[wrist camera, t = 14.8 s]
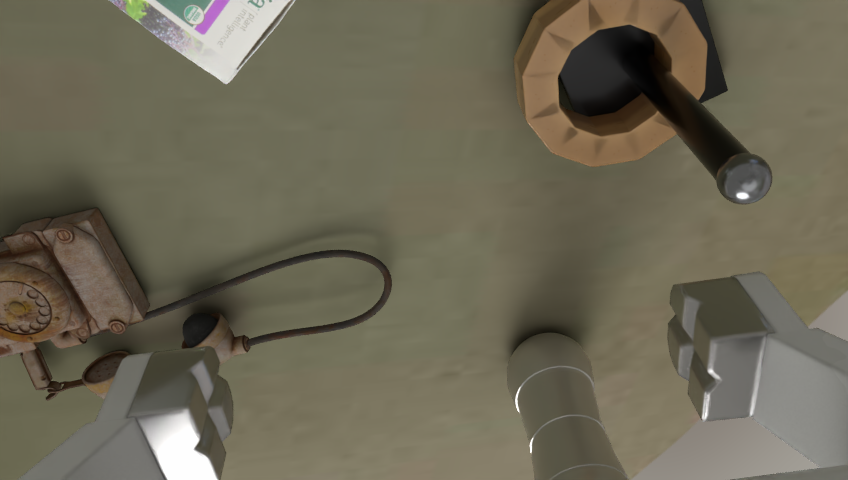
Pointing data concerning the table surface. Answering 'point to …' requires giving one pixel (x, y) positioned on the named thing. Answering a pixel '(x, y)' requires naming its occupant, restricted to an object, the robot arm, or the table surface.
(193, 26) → the syrup box
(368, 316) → the telephone
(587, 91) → the stand
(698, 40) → the ring
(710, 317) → the robot arm
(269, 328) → the table surface
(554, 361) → the plastic bottle
